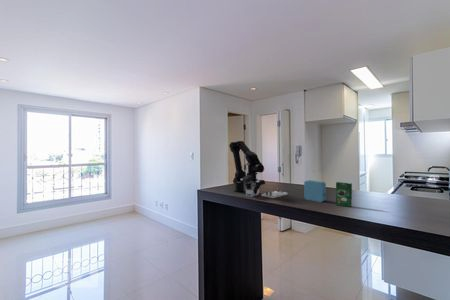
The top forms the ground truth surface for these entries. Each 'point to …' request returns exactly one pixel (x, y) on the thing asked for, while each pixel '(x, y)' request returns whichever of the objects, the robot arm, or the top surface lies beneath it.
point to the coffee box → (344, 194)
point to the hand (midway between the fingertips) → (252, 193)
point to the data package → (315, 190)
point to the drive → (251, 192)
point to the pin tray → (274, 194)
